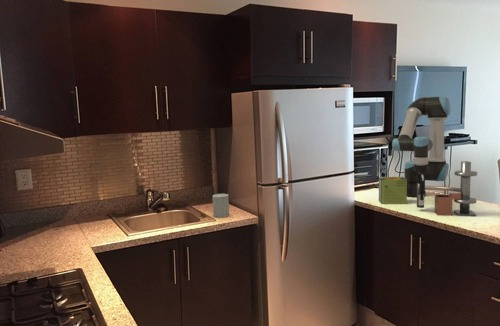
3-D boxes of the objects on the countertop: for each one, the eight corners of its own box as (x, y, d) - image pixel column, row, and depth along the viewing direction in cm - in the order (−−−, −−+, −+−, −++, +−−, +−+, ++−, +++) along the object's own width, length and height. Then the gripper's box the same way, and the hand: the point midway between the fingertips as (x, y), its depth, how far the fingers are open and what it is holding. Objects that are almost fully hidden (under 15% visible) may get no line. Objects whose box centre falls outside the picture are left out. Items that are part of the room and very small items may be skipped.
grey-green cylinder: (216, 218, 246) (215, 197, 244) (211, 215, 254) (210, 194, 253) (231, 216, 249) (230, 195, 248) (226, 212, 258) (225, 193, 256)
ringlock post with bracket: (433, 211, 243) (434, 160, 239) (472, 211, 239) (474, 160, 235) (438, 216, 232) (439, 163, 229) (478, 216, 228) (480, 163, 224)
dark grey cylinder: (416, 206, 248) (416, 182, 246) (423, 206, 247) (423, 182, 245) (417, 207, 244) (417, 183, 242) (424, 207, 243) (425, 183, 241)
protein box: (407, 204, 262) (407, 179, 260) (381, 204, 264) (381, 179, 262) (403, 200, 272) (403, 176, 270) (378, 200, 274) (378, 176, 272)
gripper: (411, 162, 251) (411, 200, 254) (416, 166, 234) (416, 208, 238) (425, 161, 249) (424, 200, 252) (431, 166, 233) (430, 208, 236)
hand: (420, 204), depth 245 cm, fingers closed on dark grey cylinder, 4 cm apart
